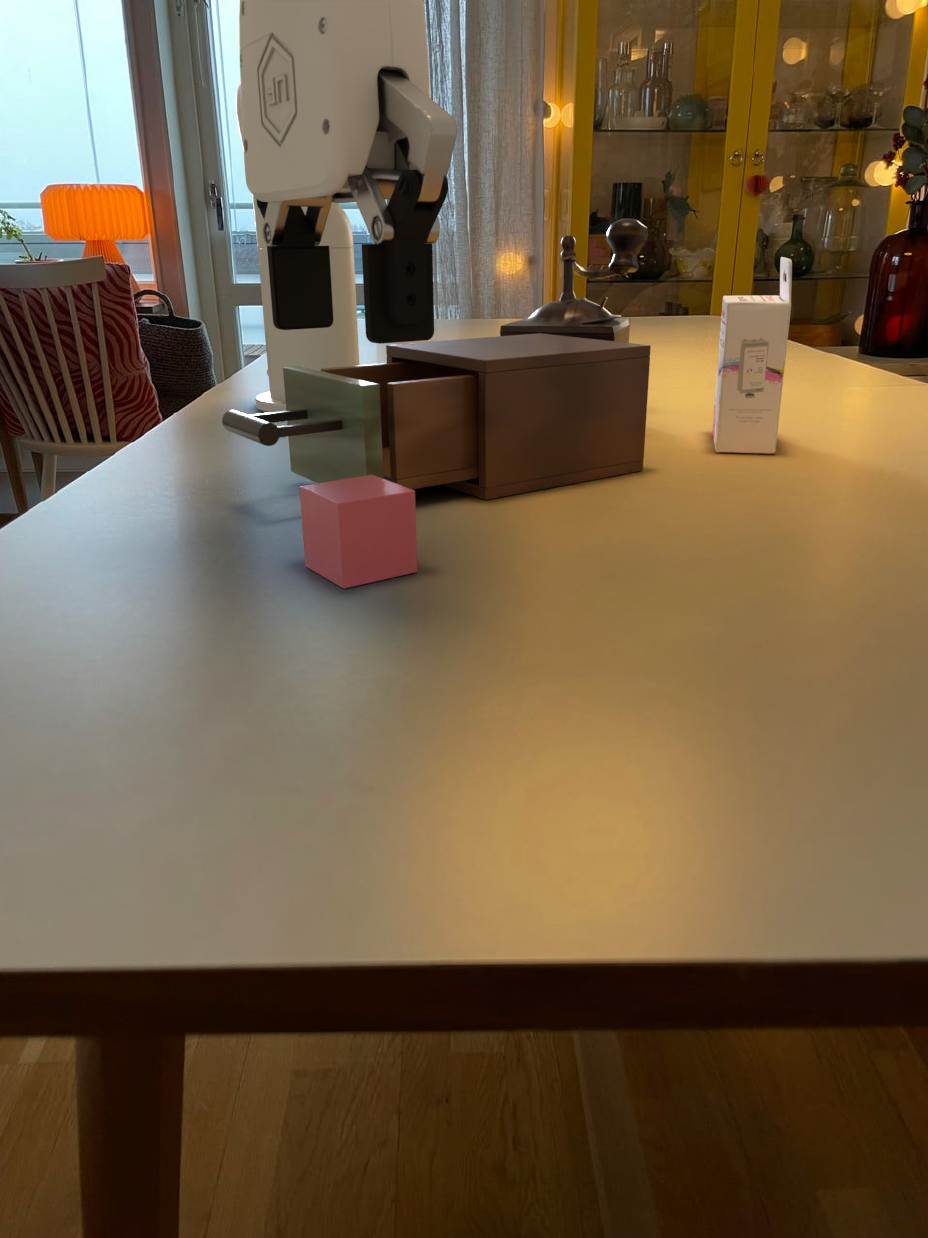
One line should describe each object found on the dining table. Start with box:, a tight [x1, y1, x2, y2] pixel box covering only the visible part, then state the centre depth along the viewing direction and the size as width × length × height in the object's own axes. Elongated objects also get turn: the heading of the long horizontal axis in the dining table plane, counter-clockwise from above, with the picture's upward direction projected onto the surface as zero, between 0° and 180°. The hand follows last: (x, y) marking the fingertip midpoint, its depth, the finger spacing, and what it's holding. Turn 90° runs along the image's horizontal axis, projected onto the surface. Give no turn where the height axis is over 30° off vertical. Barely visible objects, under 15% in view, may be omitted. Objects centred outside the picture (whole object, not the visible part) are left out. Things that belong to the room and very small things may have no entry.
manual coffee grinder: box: [499, 217, 649, 343], centre depth 87 cm, size 16×11×18 cm
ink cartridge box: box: [711, 256, 793, 455], centre depth 76 cm, size 9×5×15 cm, turn 168°
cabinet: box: [385, 333, 651, 501], centre depth 70 cm, size 15×13×9 cm
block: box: [299, 475, 418, 590], centre depth 49 cm, size 4×4×4 cm
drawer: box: [221, 361, 479, 490], centre depth 63 cm, size 19×11×7 cm, turn 125°
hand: (348, 334), depth 45 cm, fingers open, 9 cm apart
